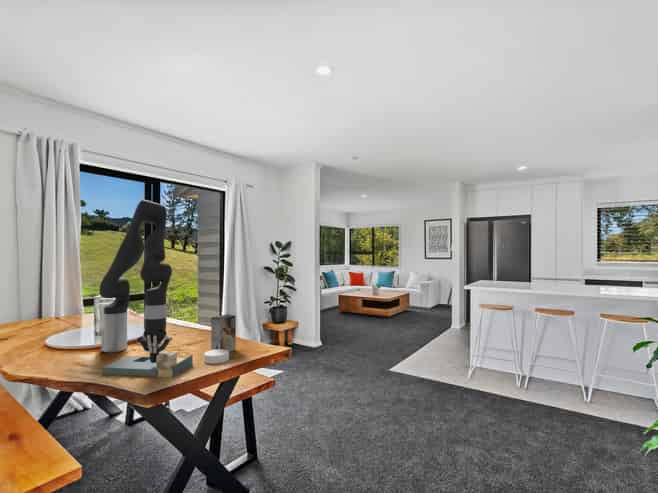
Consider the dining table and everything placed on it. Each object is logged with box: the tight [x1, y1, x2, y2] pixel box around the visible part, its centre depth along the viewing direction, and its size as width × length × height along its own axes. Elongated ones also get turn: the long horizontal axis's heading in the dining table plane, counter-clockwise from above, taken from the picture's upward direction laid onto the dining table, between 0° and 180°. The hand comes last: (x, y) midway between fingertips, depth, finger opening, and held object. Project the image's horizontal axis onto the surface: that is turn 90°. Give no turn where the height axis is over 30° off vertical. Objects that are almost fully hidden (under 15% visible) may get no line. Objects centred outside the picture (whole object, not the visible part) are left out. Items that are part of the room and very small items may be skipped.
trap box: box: [101, 354, 194, 378], centre depth 135 cm, size 28×14×4 cm, turn 84°
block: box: [156, 351, 178, 370], centre depth 130 cm, size 5×5×5 cm
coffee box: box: [210, 314, 237, 353], centre depth 159 cm, size 9×6×16 cm
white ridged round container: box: [203, 349, 230, 365], centre depth 147 cm, size 10×10×4 cm
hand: (154, 362), depth 131 cm, fingers closed
